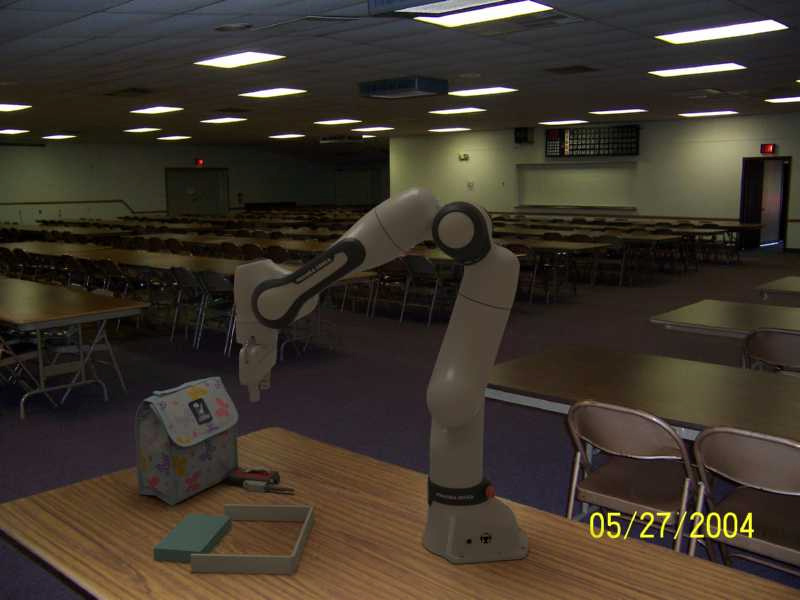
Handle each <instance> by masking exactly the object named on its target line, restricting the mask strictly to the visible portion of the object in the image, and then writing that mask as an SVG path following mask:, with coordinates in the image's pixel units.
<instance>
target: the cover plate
mask: <svg viewBox="0 0 800 600" xmlns="http://www.w3.org/2000/svg"><path fill="white" fill-rule="evenodd" d="M232 526H233V525H232V520H231V516H225V515H217V514H216V515H215V514H201V513H188V514H186V516H184V517H183V519H182V520H181V521H180V522H178V523H177V525H175V526H174V527H173V528H172V529H171V530H170V531H169V532H168V533H167V534H166V535H165V536H164V537H163V538H162V539H161V540H160V541H158V543H157V544H156V545H155V546H153V560H154V561H165V562H175V563H176V562H177V563H187V564H189V563H190V564H191V554H211V552H212V551H214V549H215V548H216V546H217V545H218V544H219V543H220V542H221V541H222V539H223V538H224V537H225V535H226V534H228V532H229V531H230V530H231V528H232Z"/></svg>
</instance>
